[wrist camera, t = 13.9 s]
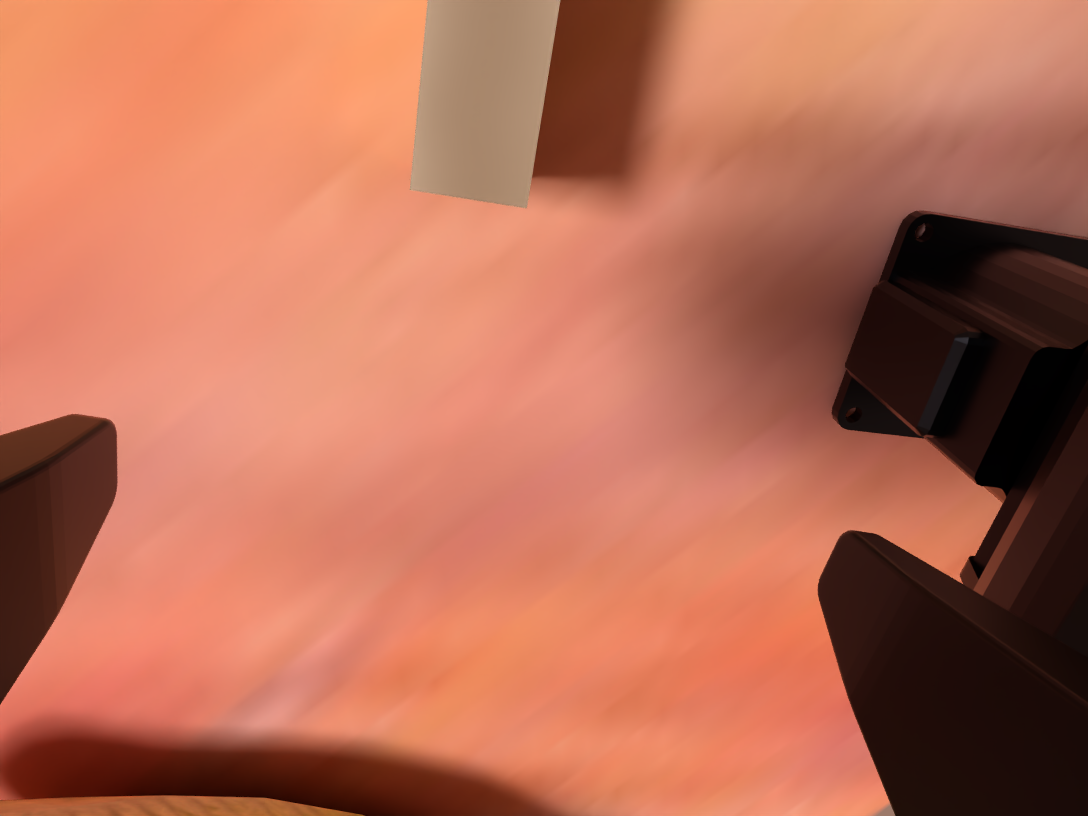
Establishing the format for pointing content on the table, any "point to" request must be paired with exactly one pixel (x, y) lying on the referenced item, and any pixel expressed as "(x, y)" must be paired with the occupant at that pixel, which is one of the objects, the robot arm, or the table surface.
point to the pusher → (482, 97)
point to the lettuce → (161, 807)
